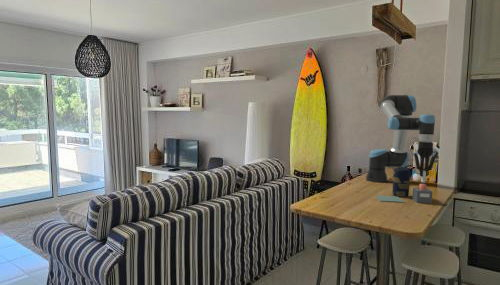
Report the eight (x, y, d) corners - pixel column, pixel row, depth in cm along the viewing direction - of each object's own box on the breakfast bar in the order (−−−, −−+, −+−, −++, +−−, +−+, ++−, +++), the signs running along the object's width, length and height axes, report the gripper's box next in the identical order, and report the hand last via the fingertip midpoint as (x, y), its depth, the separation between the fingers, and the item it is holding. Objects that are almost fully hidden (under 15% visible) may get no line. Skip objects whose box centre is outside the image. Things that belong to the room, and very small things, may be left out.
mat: (375, 196, 208) (375, 195, 208) (398, 197, 206) (398, 196, 206) (380, 201, 197) (380, 200, 197) (403, 202, 195) (403, 201, 194)
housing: (412, 199, 203) (413, 187, 203) (426, 199, 202) (427, 188, 201) (416, 202, 195) (417, 190, 194) (431, 203, 194) (432, 191, 193)
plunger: (417, 195, 200) (418, 183, 200) (424, 195, 200) (425, 183, 199) (419, 196, 197) (420, 184, 196) (426, 197, 196) (427, 185, 196)
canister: (410, 198, 205) (412, 168, 204) (393, 197, 207) (395, 167, 205) (406, 194, 215) (408, 166, 213) (390, 193, 216) (392, 165, 215)
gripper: (415, 141, 193) (413, 182, 195) (440, 142, 191) (437, 183, 193) (411, 140, 200) (409, 180, 202) (435, 141, 198) (432, 181, 200)
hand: (423, 181), depth 197 cm, fingers closed
